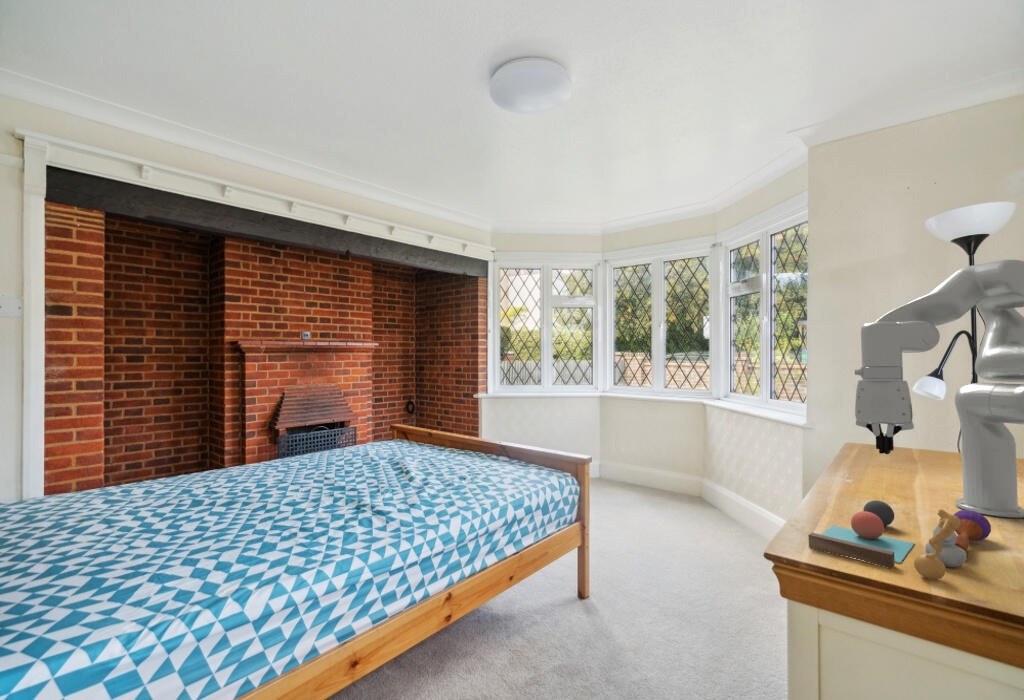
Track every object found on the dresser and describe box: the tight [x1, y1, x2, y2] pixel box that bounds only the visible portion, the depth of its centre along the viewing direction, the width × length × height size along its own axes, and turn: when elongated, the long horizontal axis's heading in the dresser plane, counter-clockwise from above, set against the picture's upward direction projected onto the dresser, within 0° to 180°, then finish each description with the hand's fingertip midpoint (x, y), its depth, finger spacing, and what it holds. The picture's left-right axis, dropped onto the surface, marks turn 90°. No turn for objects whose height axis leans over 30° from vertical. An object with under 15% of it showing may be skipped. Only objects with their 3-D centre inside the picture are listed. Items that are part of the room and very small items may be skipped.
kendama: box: [953, 509, 992, 560], centre depth 93 cm, size 6×6×20 cm
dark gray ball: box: [863, 499, 895, 527], centre depth 105 cm, size 6×6×6 cm
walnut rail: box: [807, 532, 896, 569], centre depth 88 cm, size 2×13×2 cm, turn 41°
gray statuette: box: [924, 524, 967, 568], centre depth 85 cm, size 5×7×8 cm
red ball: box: [850, 511, 885, 539], centre depth 97 cm, size 6×6×6 cm
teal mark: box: [821, 525, 915, 564], centre depth 95 cm, size 14×14×1 cm
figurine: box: [913, 508, 960, 581], centre depth 78 cm, size 8×6×12 cm
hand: (884, 452), depth 109 cm, fingers closed
